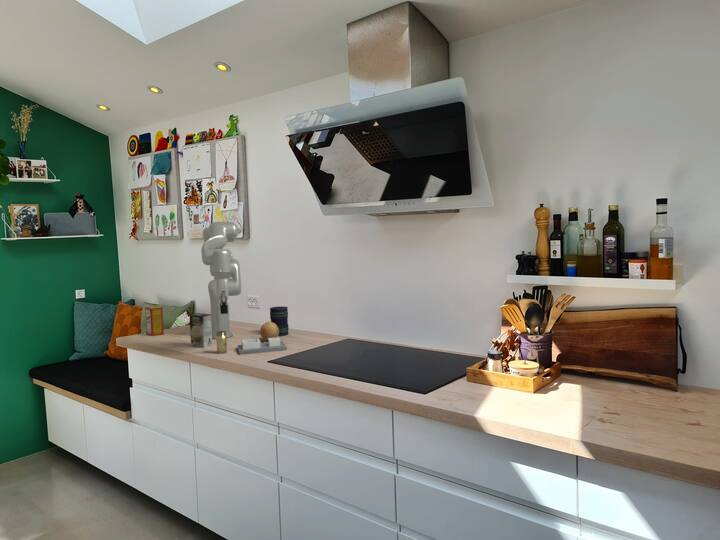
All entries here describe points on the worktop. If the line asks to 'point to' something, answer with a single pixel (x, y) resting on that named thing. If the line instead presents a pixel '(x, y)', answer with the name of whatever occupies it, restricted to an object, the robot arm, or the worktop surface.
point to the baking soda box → (154, 320)
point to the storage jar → (280, 319)
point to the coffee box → (200, 330)
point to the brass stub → (221, 342)
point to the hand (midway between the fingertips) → (224, 312)
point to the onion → (269, 330)
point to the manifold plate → (261, 346)
